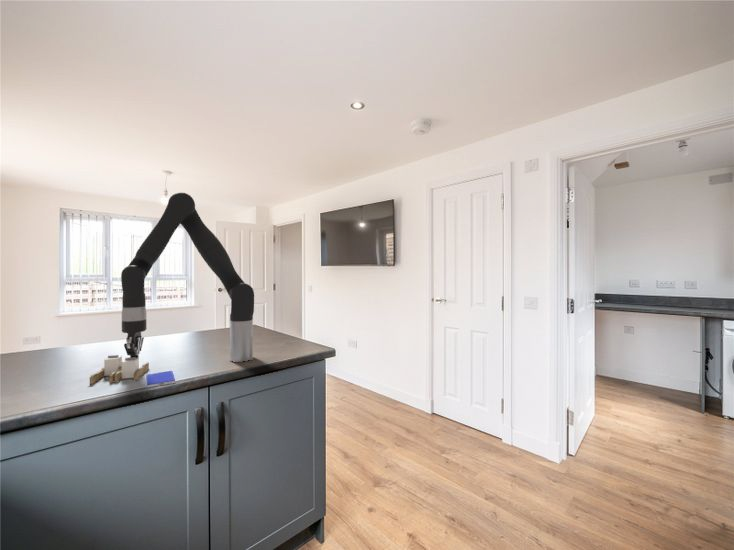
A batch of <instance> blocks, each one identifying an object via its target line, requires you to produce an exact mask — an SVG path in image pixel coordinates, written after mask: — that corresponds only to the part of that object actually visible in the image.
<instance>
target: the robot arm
mask: <svg viewBox="0 0 734 550" xmlns="http://www.w3.org/2000/svg"><path fill="white" fill-rule="evenodd" d="M180 225H181V226H182V227H183V228H184V230H185V231H186V233H187V234H188V236H189V238H190V240H191V242H192V244H193V245H194V247H195V248H196V250H197V252H198V253H199V255H200V256H201V258H202V259H203V261H204V262H205V263H206V264H207V266H208V267H209V269H210V270H211V271H212V272H213V273H214V274H215V276H216V277H218V279H219V280H220V282H221V284H222V285H223V287H224V289H225V291H226V293H227V295H228V296H229V298H230V301H231V303H230V304H231V305H230V308H231V310H230V315H229V360H230V362H232V361H233V363H244V362H243V361H245V362H249V361H253V360H254V357H253V356H254V337H253V336H254V334H253V333H254V319H253V318H254V312H255V292H254V288H253V287H252V286H251V285H250V284H248V283H246V282H244V280H243V279H242V278H241V277H240V275H239V274H238V272H237V271H236V269H235V268H234V267H235V266H234V264H233V262H232V260H231V258H230V255H229V254H228V252H227V250H226V249H225V247H224V245H223V244H222V243H221V241H220V240H219V239H218V237H217V236H216V235H215V234H214V233H213V231H211V230H210V229H209V228H208V226H206V224H205V223H204V221H203V220H202V219H201V217H200V215H199V213H198V211H197V209H196V202H195V200H194V198H193V196H191V195H190V194H188V193H186V192H181V191H180V192H176V193H173V194H172V195H171V196H170V197H169V198H168V203H167V205H166V207H165V209H164V212H163V214H162V216H161V217H160V218H159V220H158V222H157V224H155V226H154V228H153V229H152V230H151V232H150V233H149V234H148V235H147V236H146V238H145V239H144V241H143V242H142V243H141V245H140V246H139V248H138V249H137V251H136V253H135V256H134V258H133V259H132V260H131V262H130V263H128V265H127V266H126V267H124V268H123V269H122V271H121V275H120V281H121V289H122V297H121V299H122V305H121V308H122V309H121V310H122V311H121V333H123V334H127V335H126V339H125V340H126V343H124V345H123V347H124V349H125V352H126V355H127V356H129V358H130V357H136V358H139V357H140V352H141V351H142V348H143V343H144V338H145V337H144V336H143V335H142V332H145V331H146V330H147V310H146V309H147V307H146V293H145V279H146V278H147V276H148V274H149V273H150V271H151V269H152V267H153V265H154V264H155V263H156V262H157V261H158V260H159V258H160V256H161V255H162V254H163V252H164V251H165V249H166V247H167V245H168V244H169V242H170V241H171V239H172V236H173V235H174V234H175V232H176V230H177V228H178V227H179V226H180ZM139 359H140V358H139ZM248 360H249V361H248Z"/></svg>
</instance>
